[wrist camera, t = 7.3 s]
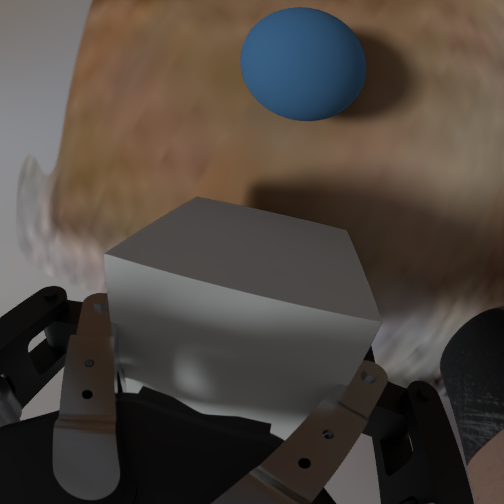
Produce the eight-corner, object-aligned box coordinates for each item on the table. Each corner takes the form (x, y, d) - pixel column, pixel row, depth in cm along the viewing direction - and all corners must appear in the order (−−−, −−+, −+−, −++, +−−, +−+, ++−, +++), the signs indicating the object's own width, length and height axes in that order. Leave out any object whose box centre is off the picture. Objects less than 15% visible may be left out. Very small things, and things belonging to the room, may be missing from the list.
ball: (361, 45, 10) (385, 5, 6) (346, 135, 12) (367, 132, 8) (262, 26, 11) (240, -19, 6) (245, 114, 13) (213, 102, 8)
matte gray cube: (346, 230, 12) (382, 322, 6) (306, 348, 15) (299, 458, 9) (196, 196, 13) (104, 253, 6) (185, 317, 15) (127, 409, 9)
